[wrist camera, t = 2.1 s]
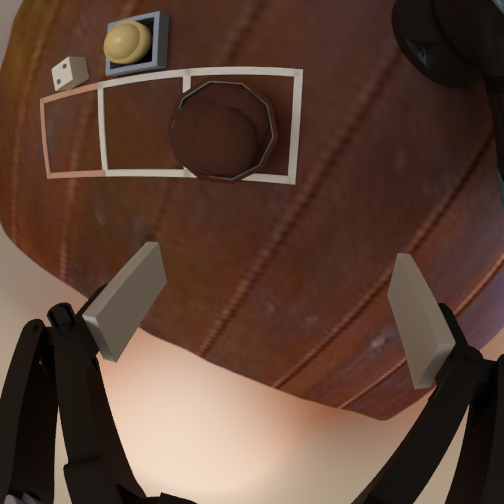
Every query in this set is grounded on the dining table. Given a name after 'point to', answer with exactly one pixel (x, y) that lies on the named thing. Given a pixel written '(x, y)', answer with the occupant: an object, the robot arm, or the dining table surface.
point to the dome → (127, 42)
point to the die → (70, 73)
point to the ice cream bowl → (223, 130)
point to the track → (186, 86)
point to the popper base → (158, 45)
